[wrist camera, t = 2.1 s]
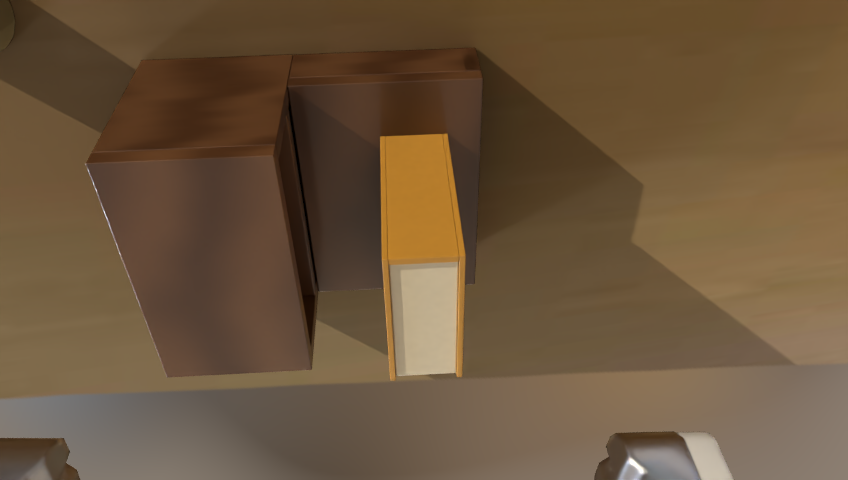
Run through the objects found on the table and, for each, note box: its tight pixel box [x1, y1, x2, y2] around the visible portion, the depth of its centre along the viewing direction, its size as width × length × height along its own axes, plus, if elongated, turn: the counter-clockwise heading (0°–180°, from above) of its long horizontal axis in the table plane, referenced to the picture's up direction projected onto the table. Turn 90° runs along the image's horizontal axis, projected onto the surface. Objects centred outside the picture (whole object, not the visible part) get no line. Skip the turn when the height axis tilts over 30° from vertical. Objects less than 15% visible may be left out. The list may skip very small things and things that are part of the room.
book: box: [380, 134, 466, 381], centre depth 41 cm, size 4×9×11 cm, turn 1°
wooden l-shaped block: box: [86, 48, 483, 377], centre depth 44 cm, size 20×16×11 cm
